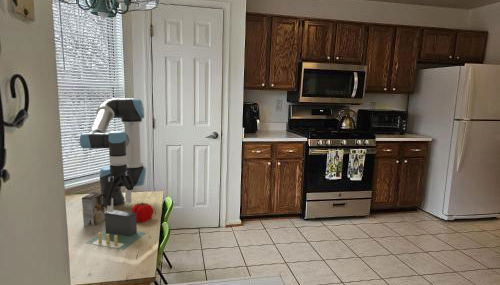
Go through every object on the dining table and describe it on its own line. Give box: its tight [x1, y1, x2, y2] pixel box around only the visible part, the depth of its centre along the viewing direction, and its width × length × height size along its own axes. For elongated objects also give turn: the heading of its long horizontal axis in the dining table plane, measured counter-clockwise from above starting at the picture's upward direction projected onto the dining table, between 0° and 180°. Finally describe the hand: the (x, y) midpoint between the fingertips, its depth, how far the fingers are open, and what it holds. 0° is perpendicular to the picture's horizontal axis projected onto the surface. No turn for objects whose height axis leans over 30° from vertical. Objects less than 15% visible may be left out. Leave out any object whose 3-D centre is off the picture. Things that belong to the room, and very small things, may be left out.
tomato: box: [131, 201, 154, 223], centre depth 179 cm, size 11×13×10 cm
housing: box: [104, 209, 138, 237], centre depth 161 cm, size 5×14×10 cm, turn 75°
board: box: [86, 230, 147, 251], centre depth 156 cm, size 18×20×6 cm
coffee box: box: [81, 192, 106, 227], centre depth 172 cm, size 9×6×16 cm
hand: (120, 207), depth 159 cm, fingers open, 13 cm apart
